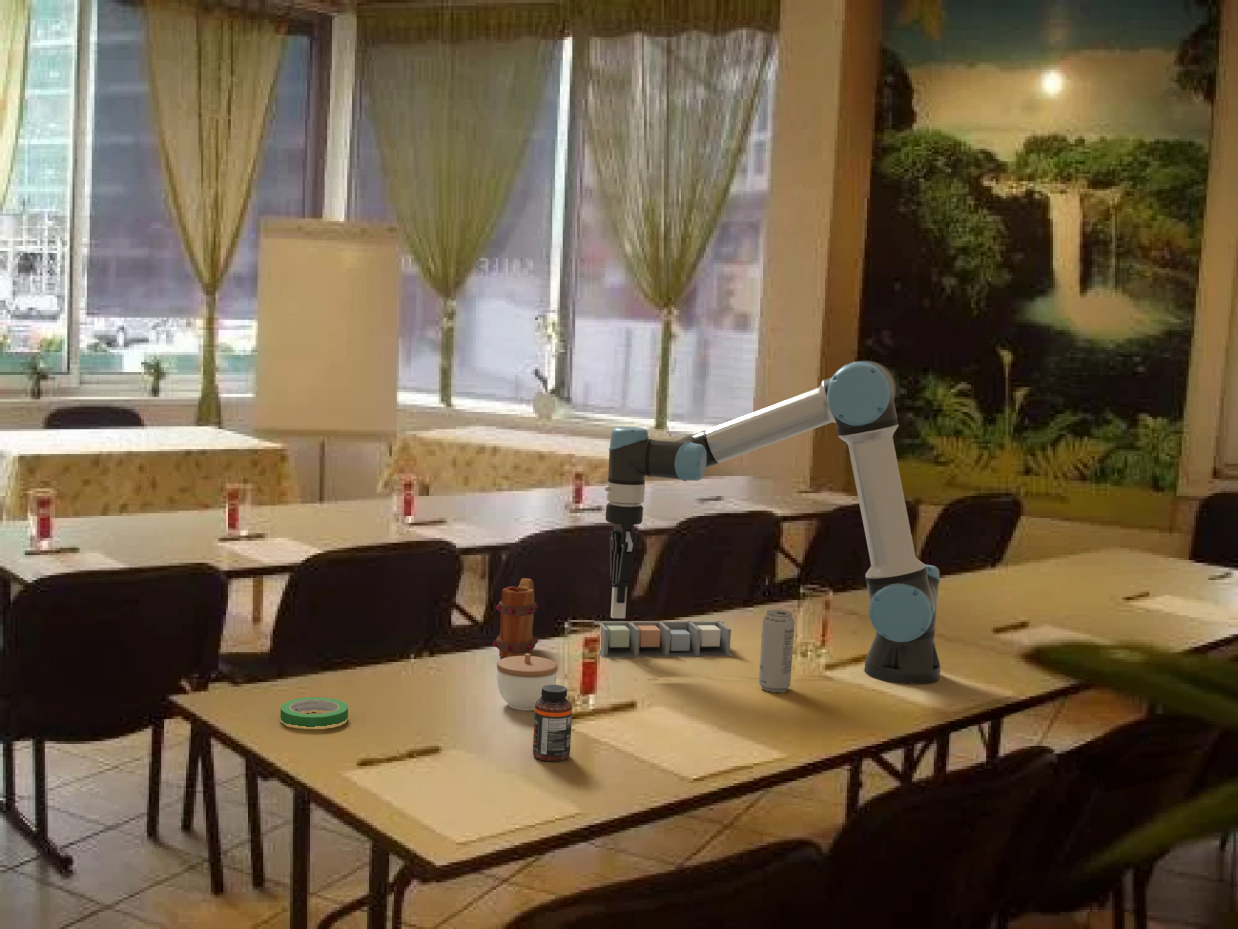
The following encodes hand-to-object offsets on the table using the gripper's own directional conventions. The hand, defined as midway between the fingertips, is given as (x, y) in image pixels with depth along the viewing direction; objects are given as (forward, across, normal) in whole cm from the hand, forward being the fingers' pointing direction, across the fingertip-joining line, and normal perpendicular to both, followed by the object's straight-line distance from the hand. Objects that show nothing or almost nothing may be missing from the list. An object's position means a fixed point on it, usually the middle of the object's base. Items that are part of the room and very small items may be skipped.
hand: (617, 617), depth 292 cm
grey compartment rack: (+8, 0, +10) cm, 13 cm away
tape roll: (+9, +40, -62) cm, 74 cm away
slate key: (+7, 0, +13) cm, 15 cm away
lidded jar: (+8, +34, -25) cm, 43 cm away
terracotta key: (+6, 0, +7) cm, 9 cm away
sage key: (+6, 0, 0) cm, 6 cm away
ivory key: (+6, 0, +20) cm, 20 cm away
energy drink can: (+8, +26, +25) cm, 37 cm away
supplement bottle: (+8, +62, -26) cm, 68 cm away
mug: (+8, -1, -20) cm, 22 cm away
